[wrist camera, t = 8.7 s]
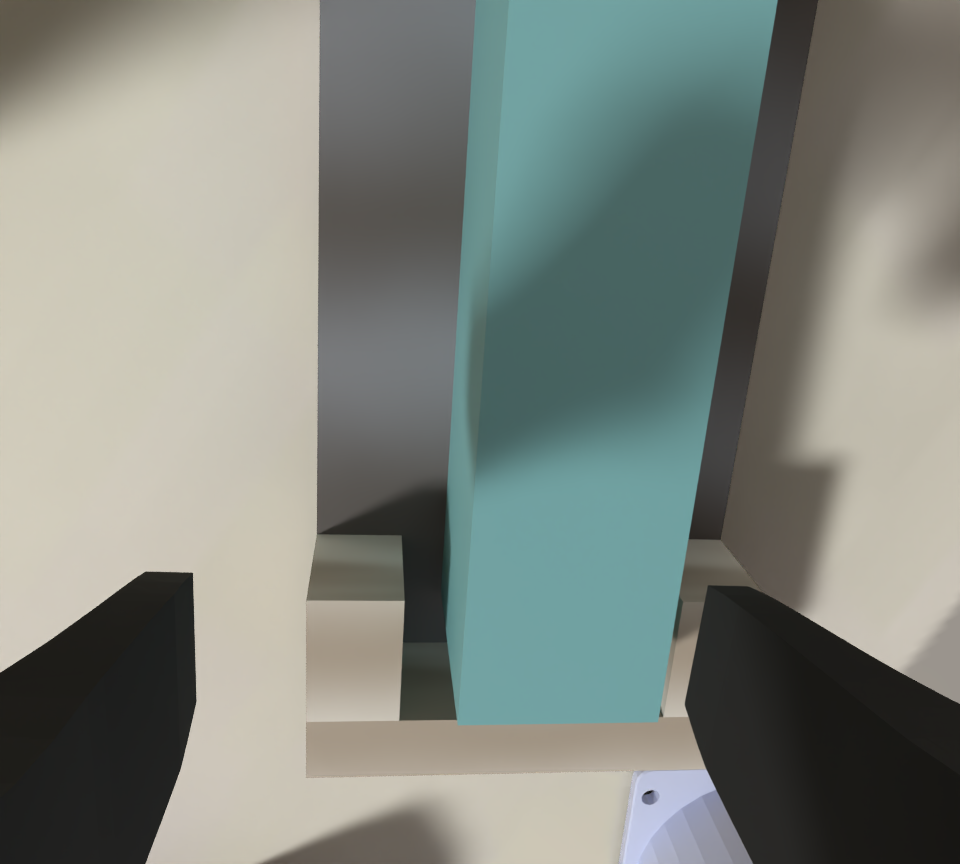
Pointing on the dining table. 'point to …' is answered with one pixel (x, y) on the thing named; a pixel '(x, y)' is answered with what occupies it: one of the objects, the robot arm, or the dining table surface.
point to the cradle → (428, 405)
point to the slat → (589, 341)
